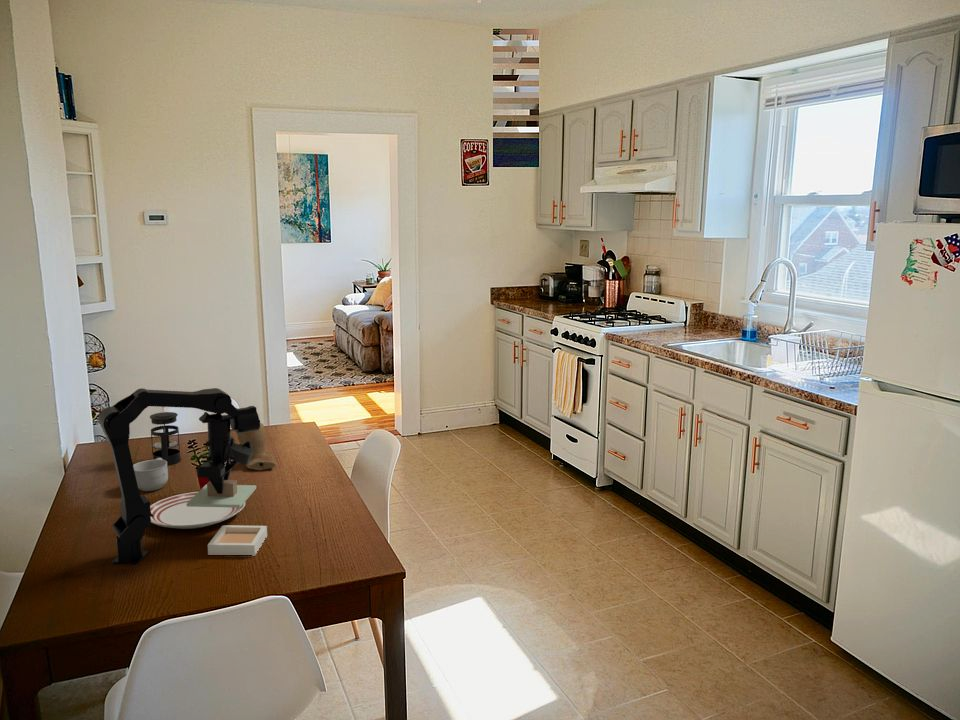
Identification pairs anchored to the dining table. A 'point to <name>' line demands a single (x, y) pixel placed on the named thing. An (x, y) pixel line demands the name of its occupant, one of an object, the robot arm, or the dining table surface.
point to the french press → (165, 437)
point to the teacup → (151, 474)
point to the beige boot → (257, 449)
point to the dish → (237, 540)
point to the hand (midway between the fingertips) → (222, 491)
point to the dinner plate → (188, 513)
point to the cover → (222, 495)
